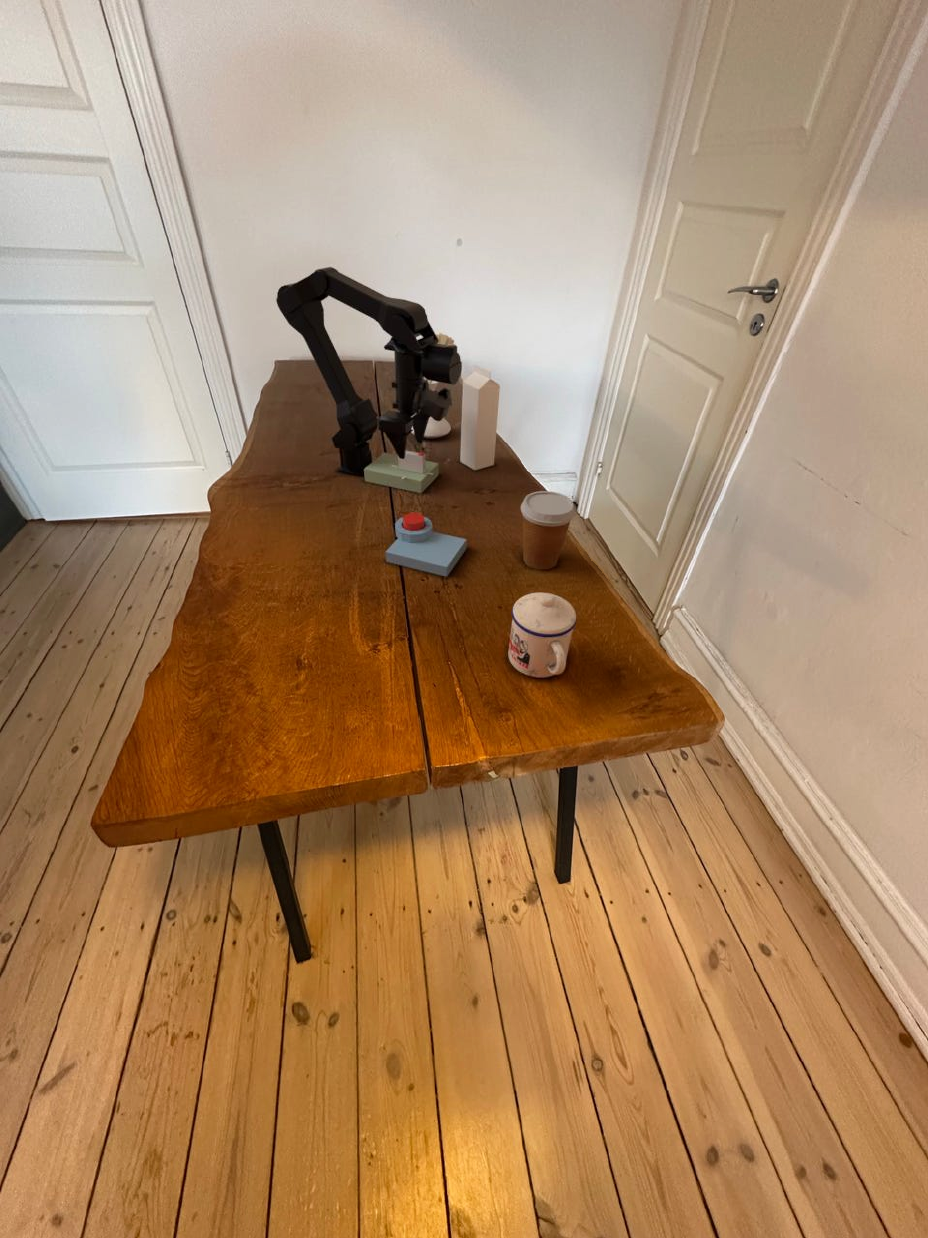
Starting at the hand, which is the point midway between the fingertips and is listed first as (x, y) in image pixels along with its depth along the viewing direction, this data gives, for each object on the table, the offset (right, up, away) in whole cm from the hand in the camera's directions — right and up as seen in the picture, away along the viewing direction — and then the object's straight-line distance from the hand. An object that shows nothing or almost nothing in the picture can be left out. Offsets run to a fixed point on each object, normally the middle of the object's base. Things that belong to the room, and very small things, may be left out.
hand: (411, 450), depth 120 cm
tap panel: (-3, -4, +6) cm, 8 cm away
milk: (+15, +1, +14) cm, 20 cm away
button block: (+4, -24, -17) cm, 30 cm away
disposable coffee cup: (+26, -26, -17) cm, 41 cm away
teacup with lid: (+23, -44, -39) cm, 63 cm away
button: (+2, -20, -17) cm, 26 cm away
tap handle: (0, -3, +3) cm, 5 cm away
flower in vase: (+3, +12, +27) cm, 30 cm away
